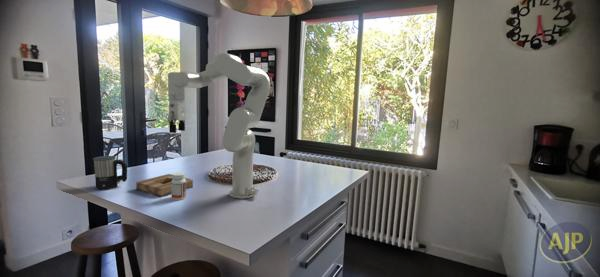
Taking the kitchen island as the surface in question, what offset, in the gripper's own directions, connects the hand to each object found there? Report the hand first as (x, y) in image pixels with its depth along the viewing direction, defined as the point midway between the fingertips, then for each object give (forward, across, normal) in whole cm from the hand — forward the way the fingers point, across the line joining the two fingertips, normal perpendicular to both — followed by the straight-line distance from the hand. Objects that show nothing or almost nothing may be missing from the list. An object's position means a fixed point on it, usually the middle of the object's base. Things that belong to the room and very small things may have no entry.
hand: (177, 131), depth 149 cm
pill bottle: (+28, -20, -9) cm, 36 cm away
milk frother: (+27, -7, +31) cm, 42 cm away
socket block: (+27, -9, +3) cm, 29 cm away
